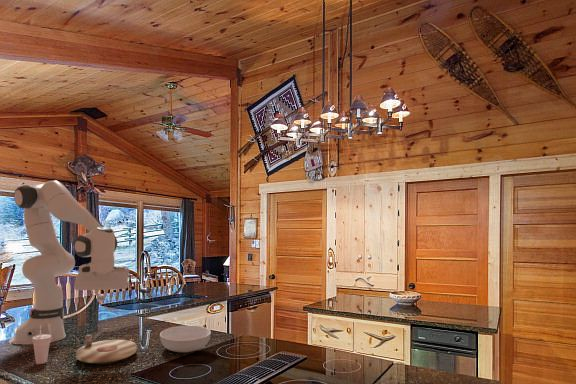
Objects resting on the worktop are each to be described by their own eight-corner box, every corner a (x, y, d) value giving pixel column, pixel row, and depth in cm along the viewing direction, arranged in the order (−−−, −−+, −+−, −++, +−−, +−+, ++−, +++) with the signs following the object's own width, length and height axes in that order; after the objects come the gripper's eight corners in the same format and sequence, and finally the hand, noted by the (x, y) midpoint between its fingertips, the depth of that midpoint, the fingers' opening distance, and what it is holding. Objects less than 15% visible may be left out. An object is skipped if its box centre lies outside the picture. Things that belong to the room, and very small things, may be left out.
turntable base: (84, 367, 159) (84, 363, 159) (85, 353, 173) (85, 349, 173) (130, 361, 165) (130, 357, 165) (127, 348, 180) (127, 344, 180)
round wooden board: (148, 347, 176) (148, 333, 176) (108, 366, 155) (109, 351, 155) (105, 340, 183) (105, 327, 183) (62, 358, 163) (62, 343, 163)
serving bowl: (185, 361, 165) (185, 343, 166) (148, 351, 177) (148, 334, 177) (221, 346, 183) (221, 330, 183) (185, 337, 194) (185, 322, 194)
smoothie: (36, 359, 166) (37, 323, 167) (54, 358, 167) (54, 322, 167) (28, 365, 160) (29, 327, 160) (46, 365, 161) (46, 327, 161)
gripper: (129, 265, 183) (128, 297, 183) (76, 265, 177) (75, 299, 176) (129, 267, 177) (127, 301, 177) (74, 268, 171) (73, 303, 170)
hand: (101, 300), depth 177 cm, fingers closed
